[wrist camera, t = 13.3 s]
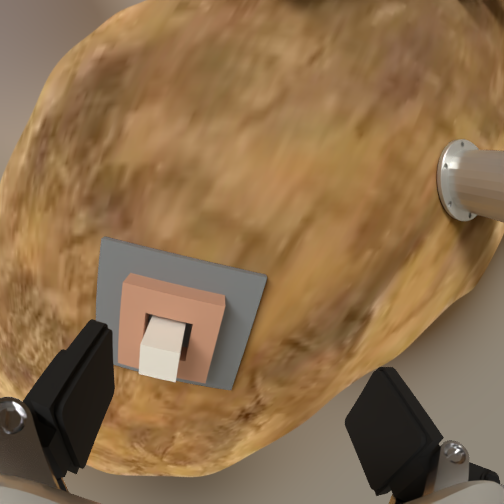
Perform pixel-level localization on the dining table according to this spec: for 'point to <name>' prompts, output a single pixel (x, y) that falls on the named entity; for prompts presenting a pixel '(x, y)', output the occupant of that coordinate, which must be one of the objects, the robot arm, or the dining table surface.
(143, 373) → the plug
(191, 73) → the dining table surface
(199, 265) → the socket board
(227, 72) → the dining table surface
